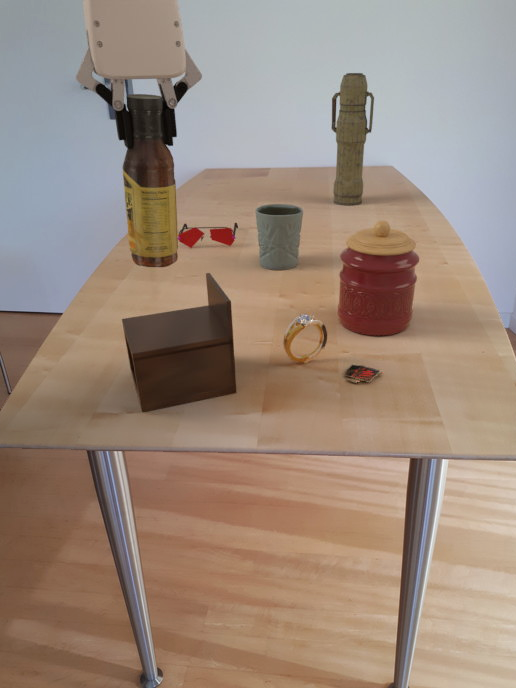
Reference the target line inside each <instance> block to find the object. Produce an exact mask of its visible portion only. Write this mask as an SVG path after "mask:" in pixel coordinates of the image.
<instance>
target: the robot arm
mask: <svg viewBox="0 0 516 688" xmlns="http://www.w3.org/2000/svg"><path fill="white" fill-rule="evenodd" d="M82 4H83V15H84V16H83V17H84V25H85V34H86V43H87V49H86V52H85V54H84V56H83V59H82V61H81V64H80V66H79V68H78V70H77V73H76V76H75V79H76V82H77V83H79V84H80V85H82V86H83V87H85V88H87V89H88V90H89V91H92V93H95V94H96V95H98V96H99V97H100V98H101V99H102V100H103V101H105V102H106V103H107V104H108V105H109V106H110V107H111V108H112V109H113V111H114V118H115V125H116V132H117V137H118V140H119V141H123V143H124V146H125V148H128V149H129V148H132V147H133V146H134V144H133V136H132V128H131V121H130V114H129V110H128V109H127V103H125V84H126V81H125V80H156V82H157V87H158V91H159V93H160V96H161V97H162V99H163V110H162V130H163V140H164V142H165V144H166V146H167V147H173V146H174V138H177V137H178V132H177V120H176V110H175V109H176V108H177V106H178V104H179V102H181V100H182V98H184V97H185V95H186V94H187V92H188V91H189V90H190V89H192V88H193V87H194V86H196V85H197V83H199V82H200V81H201V80H202V78H203V74H202V73H201V70H200V69H199V68H198V66H197V65H196V63H195V62H194V60H193V59H192V57H191V55H190V54H189V52H188V51H187V49H186V47H185V46H186V45H185V38H184V33H183V32H184V31H183V27H182V26H183V25H182V19H181V13H180V8H179V2H178V0H82ZM93 73H94V74H96V75H97V76H98V77H102V78H104V79H107V80H110V85H109V86H110V88H108V87H107V86H106V85H105V84H104V83H102V82H100V81H99V80H97V79H96V78H95V77H94V76H93ZM183 74H184V75H183ZM181 76H183V77H181ZM179 77H181V79H179V80H178V81H176V82H175V83H174V85H173V80H172V79H175V78H179Z"/></svg>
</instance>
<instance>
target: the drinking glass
mask: <svg viewBox="0 0 516 688" xmlns="http://www.w3.org/2000/svg"><path fill="white" fill-rule="evenodd" d="M303 216H304V209H303V208H302V207H300V206H297V205H294V204H287V203H286V204H285V203H271V204H264V205H260V206H258V207H256V208H255V220H256V229H257V233H258V234H257V242H258V243H257V245H258V247H259V250H258V256H259V257H258V258H259V265H260V266H261V267H262V268H264V269H266V270H271V271H286V270H291V269H294V268H295V267H297V265H299V264H298V263H299V256H300V255H299V254H300V251H299V249H300V243H301V231H302V227H303Z"/></svg>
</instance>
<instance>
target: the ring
mask: <svg viewBox="0 0 516 688" xmlns="http://www.w3.org/2000/svg"><path fill="white" fill-rule="evenodd" d="M296 326H297V327H296ZM309 326H315V327H316V328H317V330H318V332H319V342H318V345H317V347H316V348H315V349H314V351H312V352H311V353H309V354H302V355H301V356H297V355H294V354H293V353H292V351H291V346H292V343H293V340H294V339H295V338H296V337H297V335H298V334H300V333H301V331H303V330H305V328H306V327H309ZM282 342H283V343H282V344H283V349H284V352H285V354H286V355H287V356H288V357H289V359H290V360H292V361H293V362H295V363H304V364H308V363H310V361H312V360H314V359H316V358H317V357H318V356H319V355H321V353H322V352H323V350H324V349H325V347H326V345H327V342H328V331H327V327H326V325H325V324H324V323H323V322H322V321H321V320H319V319H315V313H312V314H311V315H307V313H306V312H303V313H300V314H299V315H297V316H296V317H295V318H294V319H293V320H291V322H290V323H289V324H288V326H287V327H286V330H285V333H284V336H283V341H282Z"/></svg>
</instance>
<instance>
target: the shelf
mask: <svg viewBox="0 0 516 688" xmlns="http://www.w3.org/2000/svg"><path fill="white" fill-rule="evenodd" d="M205 280H206V293H207V303H208V305H202V306H195V307H188V308H183V309H176V310H170V311H164V312H157V313H151V314H144V315H138V316H133V317H126V318H121V323H122V329H123V335H124V339H125V346H126V350H127V351H126V352H127V357H128V363H129V367H130V369H129V370H130V374H131V378H132V380H133V384H134V388H135V392H136V395H137V399H138V403H139V406H140V410H141V413H145V412H150V411H155V410H160V409H164V408H169V407H174V406H178V405H183V404H188V403H193V402H198V401H203V400H207V399H212V398H217V397H223V396H227V395H230V394H231V395H232V394H236V393H237V379H236V378H237V377H236V375H237V374H236V360H235V346H234V345H235V343H234V342H235V341H234V330H233V329H234V328H233V327H234V326H233V312H232V311H233V310H232V301H231V299H230V298H229V296H228V295H227V294H226V292H225V291H224V289H222V287H221V286H220V285H219V283H218V282H217V280H216V279H215V278H214V276H213V275H212V274H211V272H207V273H205Z"/></svg>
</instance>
